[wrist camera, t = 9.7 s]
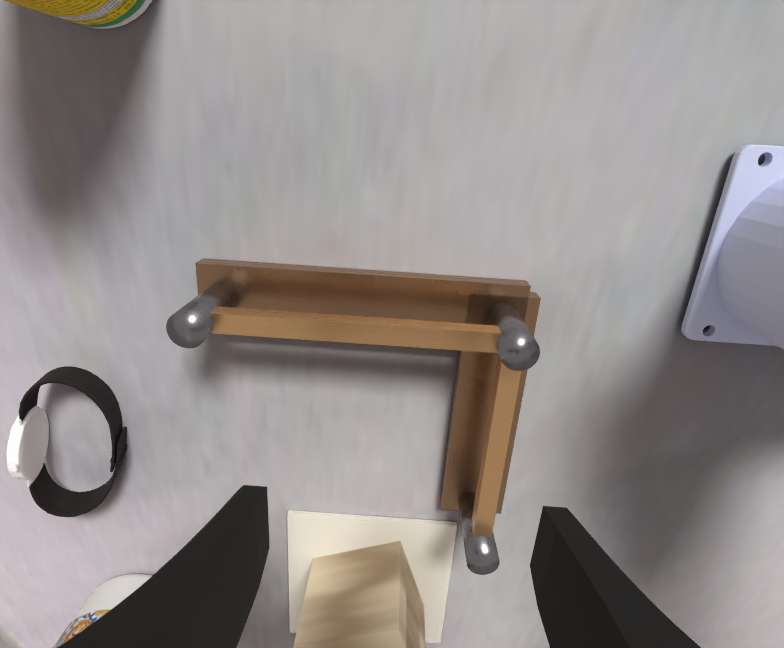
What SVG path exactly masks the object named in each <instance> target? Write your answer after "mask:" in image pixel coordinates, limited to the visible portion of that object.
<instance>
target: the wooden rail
mask: <svg viewBox="0 0 784 648" xmlns="http://www.w3.org/2000/svg"><path fill="white" fill-rule="evenodd" d="M196 274H197V285H198V296H197V297H196V298H194V299H193V300H192V301H190V302H189V303H188V304H186V305H185V306H184V307H182V308H181V309H180V310H179V311H177V312H176V313H175V314H173V315H172V316H171V317H170V318H169V319H168V321H167V325H166V329H167V333H168V335H169V337H170V339H171V340H172V341H173V342H174V343H175V344H177V345H179V346H181V347H184V348H194V347H197V346H199V345H200V344H201V343H202V342H203V341H204V340H205V339H206V338H207V337H208V336H209V335H210V334H211V333H214V334H228V335H243V336H257V337H272V338H286V339H301V340H315V341H330V342H344V343H359V344H373V345H388V346H402V347H417V348H431V349H446V350H459V356H458V364H457V372H456V380H455V388H454V396H453V404H452V412H451V420H450V428H449V436H448V444H447V452H446V460H445V468H444V476H443V484H442V492H441V507H442V509H444V510H458V511H460V518H461V525H462V532H463V539H464V547H465V554H466V561H467V566H468V568H469V569H470V570H471V571H472V572H473V573H476V574H480V575H485V574H489V573H492V572H494V571H495V570H496V569H497V568H498V566H499V557H498V552H497V548H496V543H495V539H494V534H493V526H494V520H495V515H496V513H501V510H502V504H503V499H504V493H505V488H506V483H507V477H508V472H509V466H510V461H511V456H512V450H513V445H514V439H515V434H516V429H517V423H518V418H519V412H520V407H521V401H522V396H523V391H524V385H525V380H526V374H527V369H529V368H530V367H532V366H533V365H534V364H535V363H536V362H537V360H538V358H539V355H540V349H539V345H538V344H537V342H536V340H535V339H534V331H535V326H536V320H537V315H538V309H539V304H540V299H541V298H540V297H539V296H538V295H537V293H534V292H530V287H531V286H530V285H529V284H528V282H527V281H522V280H508V279H493V278H479V277H464V276H449V275H435V274H420V273H406V272H391V271H376V270H362V269H347V268H333V267H318V266H303V265H289V264H274V263H260V262H245V261H230V260H216V259H202V260H200V261H198V262H197V263H196Z"/></svg>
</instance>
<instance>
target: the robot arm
mask: <svg viewBox="0 0 784 648" xmlns="http://www.w3.org/2000/svg"><path fill="white" fill-rule="evenodd" d="M763 153H764V155H765V160H764V162H763V164H761V165H760V166H759V164H758V158H759V157H760V155H762V154H763ZM708 325H710V328H709V330H708V331H707V332H705V333H703V329H704V328H705V327H706V326H708ZM681 331H682V334H683V335H684V336H686V337H687V338H688V339H691V340H698V341H712V342H727V343H741V344H756V345H770V346H778V347H780V348H781V349H783V350H784V147H783V146H768V145H744V146H742V147H741V148H739V149H738V150H737V151H736V152H735V154H734V156H733V159H732V162H731V165H730V168H729V172H728V175H727V178H726V182H725V185H724V188H723V192H722V195H721V198H720V201H719V205H718V208H717V211H716V215H715V218H714V221H713V224H712V228H711V231H710V234H709V238H708V241H707V244H706V247H705V251H704V254H703V257H702V261H701V264H700V267H699V270H698V274H697V277H696V280H695V284H694V287H693V290H692V293H691V297H690V300H689V303H688V307H687V310H686V313H685V316H684V320H683V323H682V327H681ZM268 550H269V525H268V500H267V487H262V486H248V485H243V486H242V487H241V488H240V489H239V490H238V491H237V492H236V493H235V494H234V495H233V496H232V498H231V499H230V500H229V501H228V502H227V503H226V504H225V505H224V506H223V507H222V508H221V510H220V511H219V512H218V513H217V514H216V515H215V516H214V517H213V518H212V519H211V520H210V521H209V522H208V523H207V524H206V525H205V526H204V527H203V528H202V529H201V530H200V531H199V532H198V533H197V534H196V535H195V536H194V537H193V538H192V539H191V540H190V541H189V542H188V543H187V544H186V545H185V546H184V547H183V548H182V549H181V550H180V551H179V552H178V553H177V554H176V555H175V556H174V557H173V558H172V559H170V560H169V561H168V562H167V563H166V564H165V565H164V566H163V567H162V568H161V569H160V570H158V571H157V572H156V573H155V574H154V575H153V576H152V577H151V578H149V579H148V580H147V581H146V582H145V583H144V584H142V585H141V586H140V587H139V588H138V589H136V590H135V591H134V592H133V593H132V594H130V595H129V596H128V597H126V598H125V599H124V600H123V601H121V602H120V603H119V604H118V605H116V606H115V607H114V608H113V609H111V610H110V611H108V612H107V613H106V614H104V615H103V616H102V617H100V618H99V619H98V620H96V621H95V622H94V623H92V624H91V625H89V626H88V627H87V628H85V629H84V630H82V631H81V632H79V633H78V634H77V635H75V636H74V637H72V638H71V639H70V640H68V641H67V642H65V643H64V644H62V645H61V646H59V647H57V648H236V647H237V645H238V642H239V639H240V637H241V634H242V631H243V629H244V626H245V623H246V621H247V618H248V615H249V613H250V610H251V607H252V605H253V602H254V599H255V597H256V594H257V591H258V589H259V585H260V582H261V578H262V574H263V570H264V566H265V562H266V558H267V554H268ZM530 568H531V574H532V579H533V585H534V590H535V595H536V600H537V605H538V609H539V612H540V616H541V619H542V622H543V626H544V629H545V632H546V636H547V639H548V642H549V645H550V648H701V647H700V646H698V645H697V644H696V643H695V642H694V641H693V640H692V639H691V638H689V637H688V636H687V635H686V634H685V633H684V632H683V631H682V630H680V629H679V628H678V627H677V626H676V625H675V624H674V623H673V622H672V621H671V620H670V619H669V618H668V617H666V616H665V615H664V614H663V613H662V612H661V611H660V610H659V609H658V608H657V607H656V606H655V605H654V604H653V603H652V602H651V601H650V600H649V599H648V598H647V597H646V596H645V595H644V594H643V593H642V592H641V591H640V590H639V589H638V588H637V586H636V585H635V584H634V583H633V582H632V581H631V580H630V579H629V578H628V577H627V576H626V575H625V574H624V573H623V572H622V570H621V569H620V568H619V567H618V566H617V565H616V564H615V563H614V562H613V561H612V559H611V558H610V557H609V556H608V555H607V554H606V553H605V552H604V550H603V549H602V548H601V547H600V546H599V545H598V544H597V542H596V541H595V540H594V539H593V538H592V537H591V535H590V534H589V533H588V532H587V531H586V530H585V528H584V527H583V526H582V525H581V524H580V523H579V521H578V520H577V519H576V518H575V517H574V516H573V514H572V513H571V512H570V511H569V510H568V509H567V508H562V507H548V506H543V510H542V514H541V518H540V523H539V527H538V532H537V536H536V541H535V545H534V550H533V554H532V559H531V563H530Z"/></svg>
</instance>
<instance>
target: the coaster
mask: <svg viewBox="0 0 784 648" xmlns="http://www.w3.org/2000/svg"><path fill="white" fill-rule="evenodd" d="M287 524H288V572H289V619H290V633H297V628H298V624H299V619H300V615H301V610H302V606H303V601H304V597H305V592H306V588H307V583H308V579H309V574H310V570H311V565H312V560H313V558H317V557H322V556H327V555H332V554H337V553H342V552H347V551H352V550H357V549H362V548H367V547H372V546H377V545H382V544H387V543H392V542H397V541H401V544H402V547H403V549H404V552H405V555H406V558H407V560H408V563H409V566H410V569H411V571H412V574H413V577H414V580H415V582H416V585H417V588H418V591H419V593H420V596H421V599H422V602H423V604H424V620H425V642H428V643H440V641H441V635H442V628H443V621H444V614H445V607H446V600H447V593H448V586H449V579H450V572H451V565H452V558H453V551H454V545H455V538H456V531H457V522H449V521H435V520H421V519H406V518H392V517H378V516H363V515H349V514H335V513H321V512H306V511H292V510H289V511H288V514H287Z"/></svg>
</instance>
